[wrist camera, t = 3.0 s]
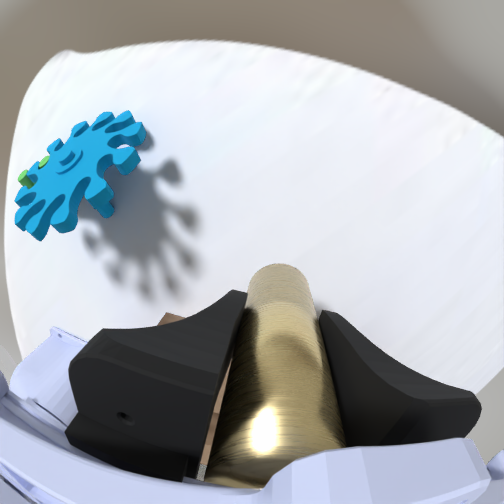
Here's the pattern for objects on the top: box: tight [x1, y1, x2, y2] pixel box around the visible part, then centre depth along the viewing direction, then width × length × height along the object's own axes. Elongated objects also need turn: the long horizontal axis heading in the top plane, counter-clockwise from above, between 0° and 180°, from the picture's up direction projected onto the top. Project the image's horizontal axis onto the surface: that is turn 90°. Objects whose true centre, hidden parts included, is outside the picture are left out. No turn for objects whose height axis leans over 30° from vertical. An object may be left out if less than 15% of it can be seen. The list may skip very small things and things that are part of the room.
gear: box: [15, 110, 146, 241], centre depth 16 cm, size 11×6×10 cm
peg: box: [204, 264, 347, 489], centre depth 9 cm, size 3×3×10 cm
